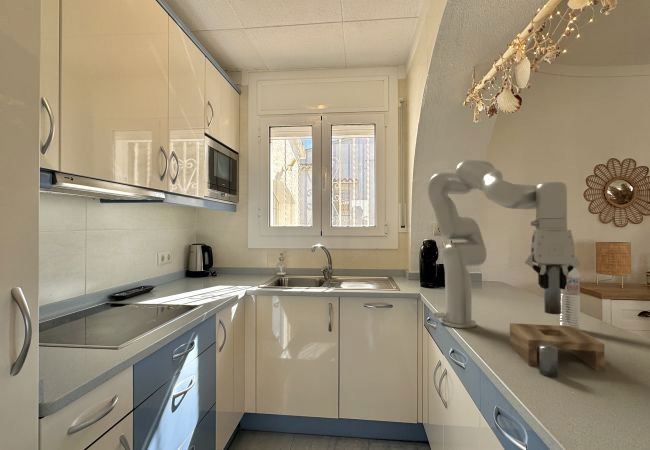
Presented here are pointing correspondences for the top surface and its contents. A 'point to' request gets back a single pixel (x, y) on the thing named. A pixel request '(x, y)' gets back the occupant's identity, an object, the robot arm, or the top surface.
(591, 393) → the top surface
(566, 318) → the water bottle
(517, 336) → the bridge
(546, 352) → the short pin
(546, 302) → the long pin
